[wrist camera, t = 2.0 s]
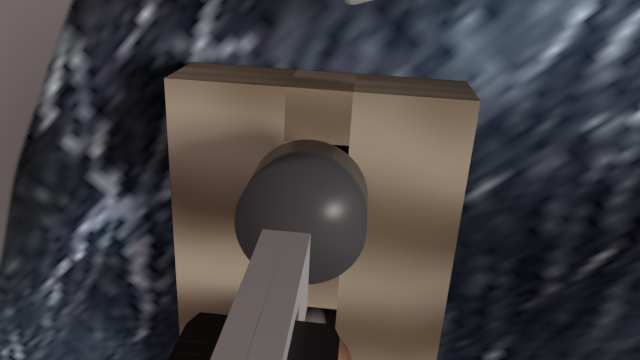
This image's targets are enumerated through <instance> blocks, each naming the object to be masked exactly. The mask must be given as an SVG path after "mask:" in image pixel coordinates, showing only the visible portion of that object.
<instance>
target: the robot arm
mask: <svg viewBox="0 0 640 360" xmlns="http://www.w3.org/2000/svg"><path fill="white" fill-rule="evenodd" d="M310 240H311V234H310V233H299V232H288V231H277V230H266V229H263V230H262V232H261V235H260V237H259V240H258V242H257V245H256V247H255V249H254V252H253V254H252V257H251V259H250V262H249V264H248V267H247V269H246V272H245V274H244V277H243V279H242V282H241V284H240V287H239V289H238V292H237V294H236V297H235V299H234V302H233V304H232V307H231V309H230V312H229V314H228V315H224V314H214V313H204V312H199V313H198V314H197V315H196V316H195V317H193V318H192V319H191V320H190V321H189V322H187V323H186V325H185V327H184V329H183V331H182V333H181V335H180V337H179V340H178V341H177V343H176V344H175V346H174V348H173V352H172V353H171V354H170V356H169V358H168V360H338V355H339V343H340V338H339V335H338V333H337V331H336V329H335V327H334V325H333V324H326V323H316V322H306V321H305V316H306V310H307V301H308V280H309V260H310Z"/></svg>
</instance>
